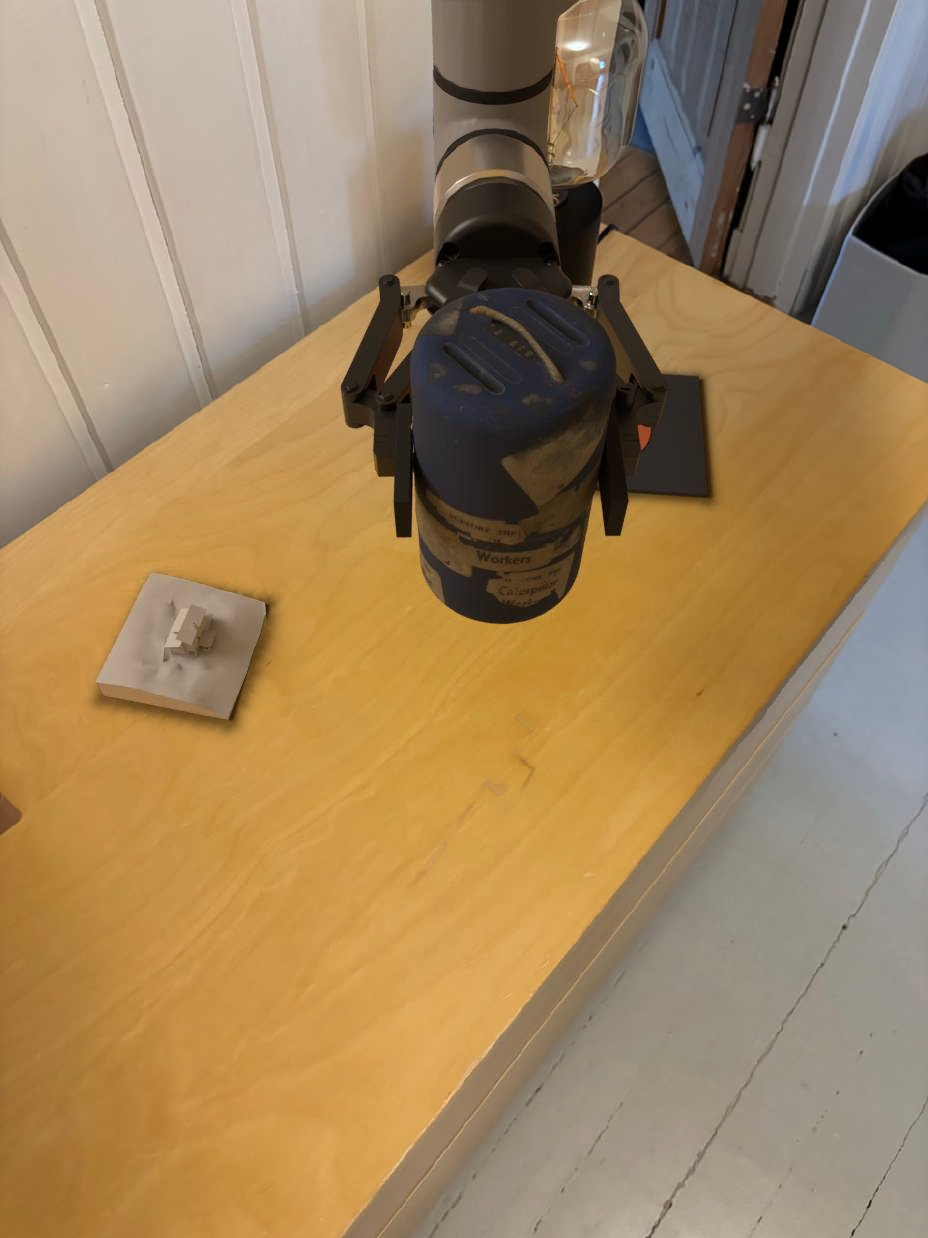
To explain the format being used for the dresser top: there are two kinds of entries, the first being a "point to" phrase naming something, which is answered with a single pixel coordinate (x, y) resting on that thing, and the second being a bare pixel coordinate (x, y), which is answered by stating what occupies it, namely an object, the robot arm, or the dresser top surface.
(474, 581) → the canister
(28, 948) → the dresser top surface
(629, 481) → the mat
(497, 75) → the robot arm
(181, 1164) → the dresser top surface
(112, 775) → the dresser top surface
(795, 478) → the dresser top surface
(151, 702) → the miniature house
